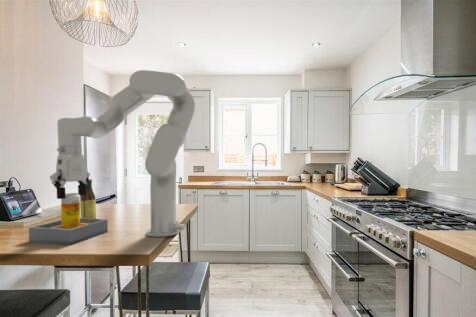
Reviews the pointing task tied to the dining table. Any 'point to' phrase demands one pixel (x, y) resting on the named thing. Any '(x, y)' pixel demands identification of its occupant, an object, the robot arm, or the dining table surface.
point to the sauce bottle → (88, 202)
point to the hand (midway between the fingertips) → (72, 196)
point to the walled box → (67, 231)
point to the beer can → (70, 211)
